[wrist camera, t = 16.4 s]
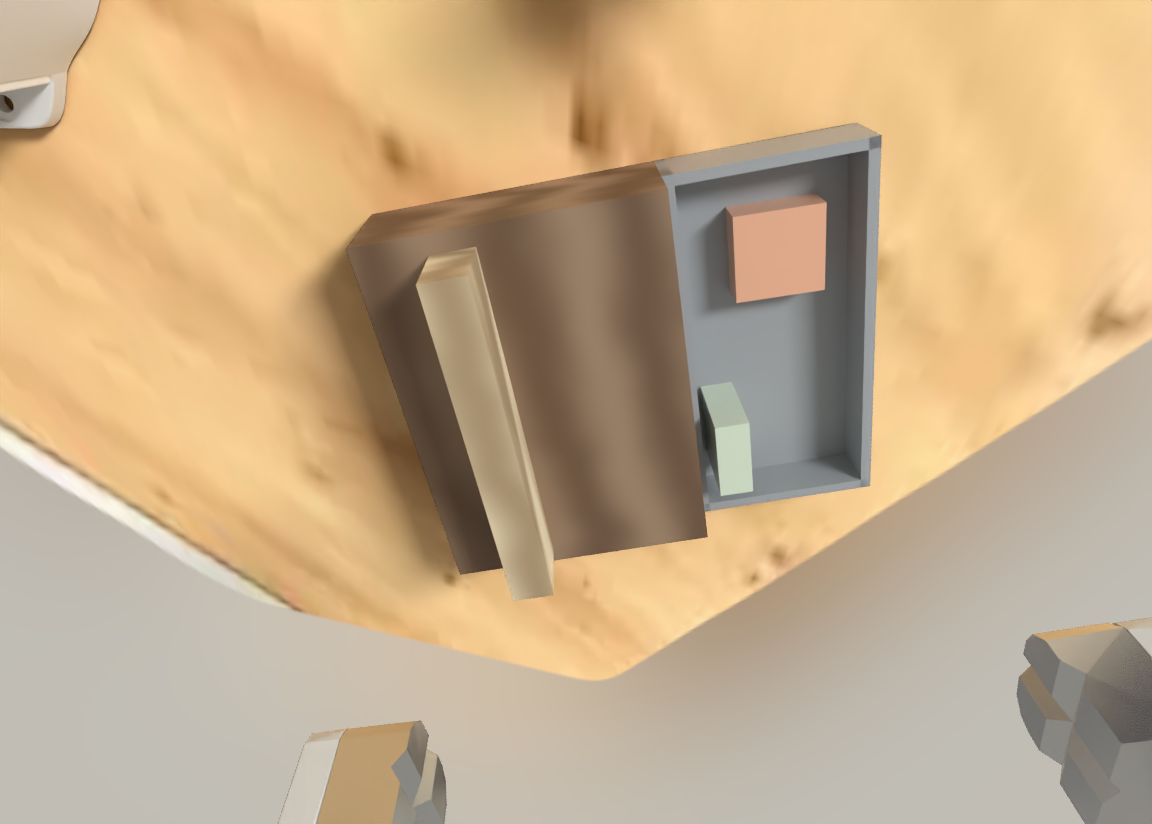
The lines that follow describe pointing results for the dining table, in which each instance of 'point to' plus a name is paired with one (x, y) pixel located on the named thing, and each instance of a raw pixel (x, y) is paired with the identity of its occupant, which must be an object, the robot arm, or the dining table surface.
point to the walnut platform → (553, 356)
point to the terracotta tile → (776, 247)
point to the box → (784, 311)
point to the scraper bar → (488, 416)
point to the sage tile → (727, 438)
